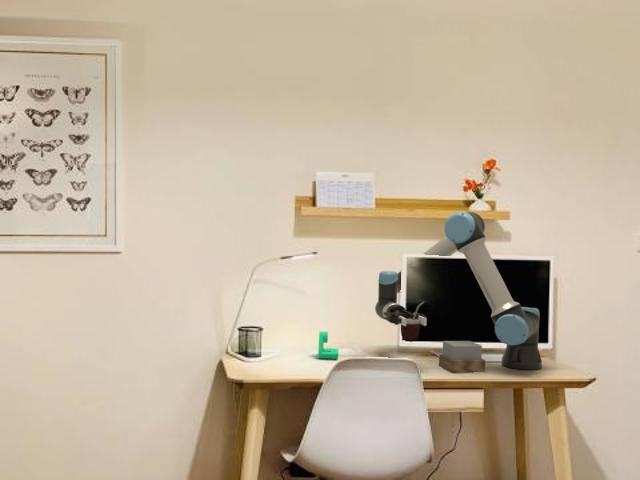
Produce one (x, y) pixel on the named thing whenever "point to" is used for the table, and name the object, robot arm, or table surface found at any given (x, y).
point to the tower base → (461, 365)
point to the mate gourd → (411, 328)
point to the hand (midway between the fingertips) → (415, 322)
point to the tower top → (462, 350)
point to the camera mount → (326, 351)
